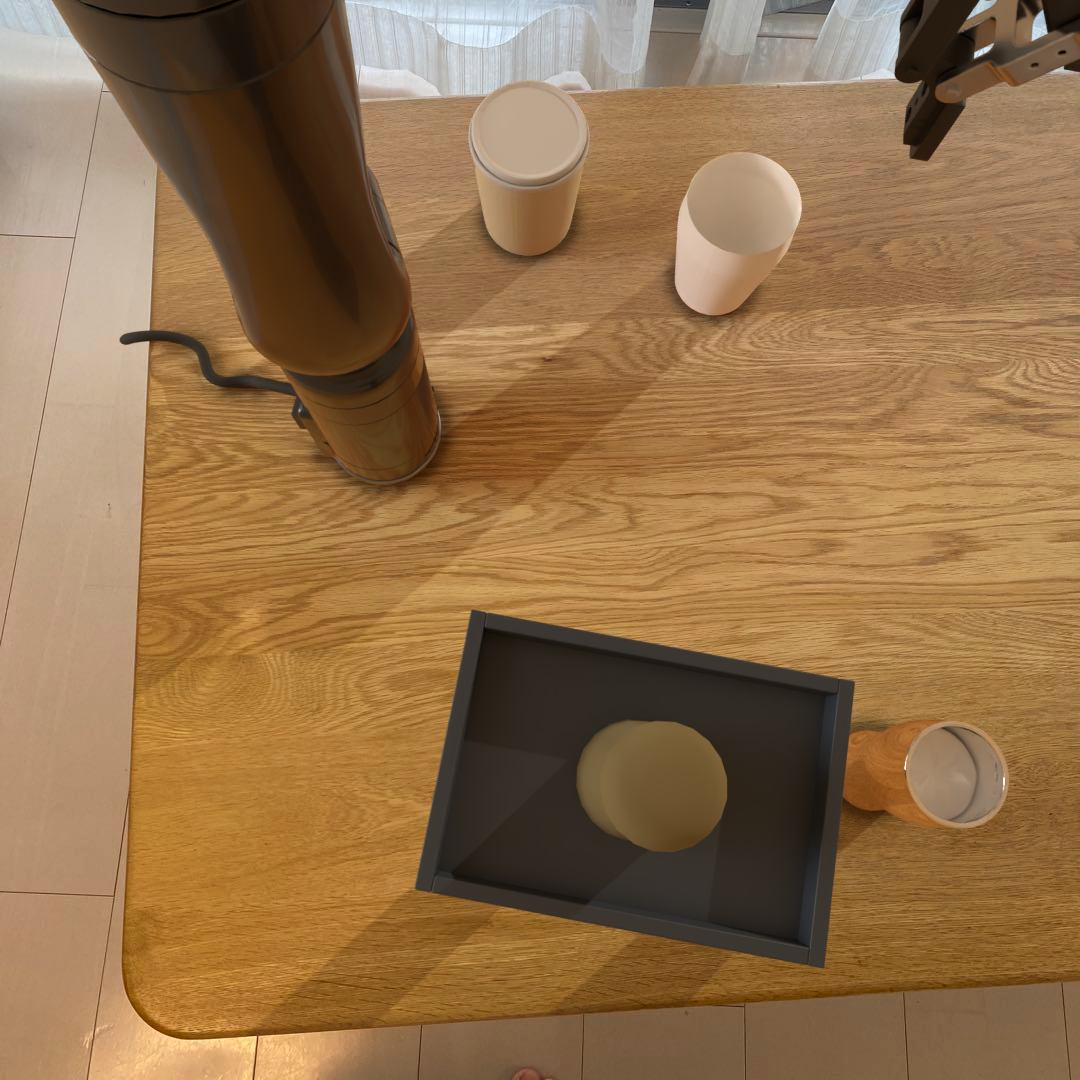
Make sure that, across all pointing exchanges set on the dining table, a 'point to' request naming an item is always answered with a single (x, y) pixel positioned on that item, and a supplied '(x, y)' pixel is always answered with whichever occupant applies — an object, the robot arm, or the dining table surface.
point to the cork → (652, 784)
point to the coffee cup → (528, 163)
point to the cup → (733, 230)
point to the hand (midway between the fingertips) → (1018, 159)
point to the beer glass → (927, 773)
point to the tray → (621, 866)
